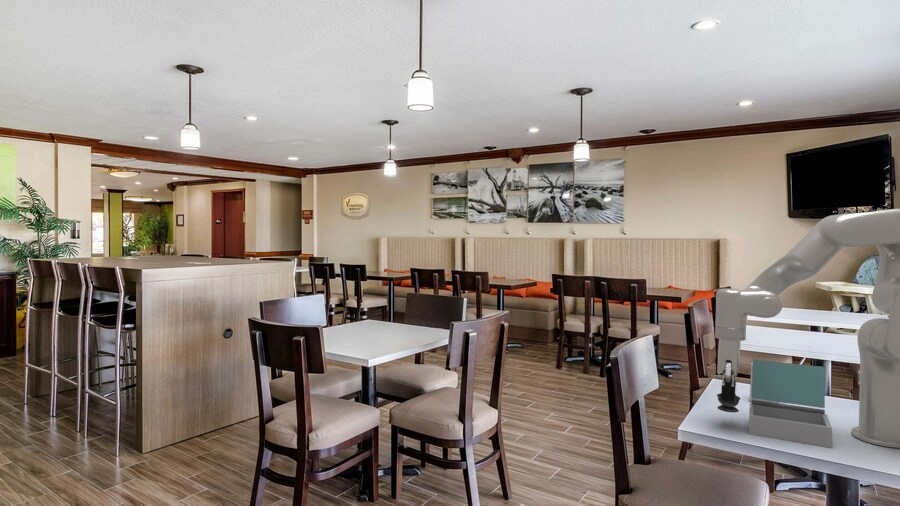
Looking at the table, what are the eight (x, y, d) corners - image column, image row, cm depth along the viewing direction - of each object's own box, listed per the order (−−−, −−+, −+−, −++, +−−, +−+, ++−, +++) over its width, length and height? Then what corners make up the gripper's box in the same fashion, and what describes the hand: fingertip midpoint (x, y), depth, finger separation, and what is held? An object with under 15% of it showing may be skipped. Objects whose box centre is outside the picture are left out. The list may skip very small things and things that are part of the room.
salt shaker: (743, 409, 144) (745, 367, 144) (734, 414, 141) (736, 370, 140) (721, 404, 149) (723, 363, 149) (712, 408, 145) (713, 366, 145)
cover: (824, 414, 139) (824, 414, 140) (824, 366, 141) (824, 367, 142) (751, 403, 148) (751, 403, 149) (752, 359, 150) (752, 359, 151)
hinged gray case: (826, 432, 140) (826, 414, 140) (831, 448, 130) (832, 428, 130) (749, 420, 149) (749, 403, 149) (748, 433, 139) (749, 415, 139)
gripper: (717, 327, 154) (715, 387, 154) (713, 336, 139) (711, 403, 139) (746, 330, 150) (744, 391, 150) (745, 339, 135) (743, 408, 135)
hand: (728, 396), depth 145 cm, fingers closed on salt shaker, 5 cm apart
